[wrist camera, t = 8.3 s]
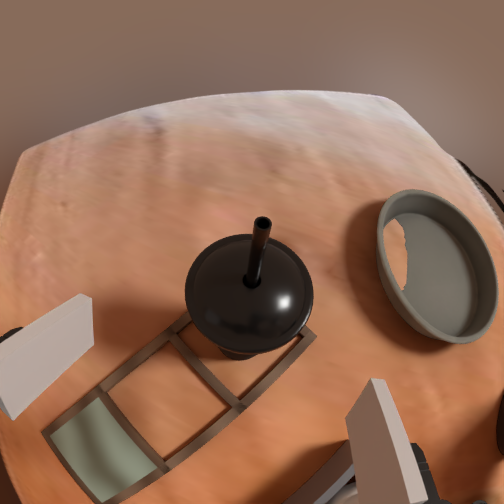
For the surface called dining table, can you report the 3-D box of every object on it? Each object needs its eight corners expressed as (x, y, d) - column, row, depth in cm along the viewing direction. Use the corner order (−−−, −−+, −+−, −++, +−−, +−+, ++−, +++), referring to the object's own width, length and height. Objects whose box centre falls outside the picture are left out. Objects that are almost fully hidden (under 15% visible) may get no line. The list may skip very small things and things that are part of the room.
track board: (241, 268, 32) (241, 266, 31) (315, 337, 28) (317, 336, 28) (43, 432, 19) (40, 432, 18) (105, 510, 15) (103, 512, 14)
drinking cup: (289, 326, 29) (376, 207, 11) (252, 386, 25) (308, 365, 8) (229, 291, 30) (234, 138, 13) (189, 347, 27) (122, 247, 9)
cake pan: (417, 189, 43) (428, 172, 39) (495, 289, 34) (511, 278, 30) (329, 244, 35) (340, 224, 31) (435, 389, 25) (458, 384, 21)
